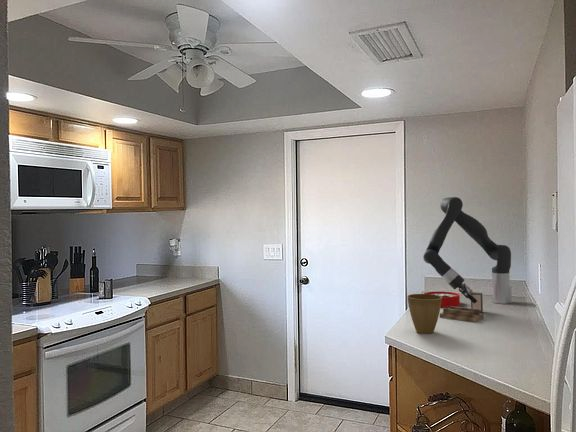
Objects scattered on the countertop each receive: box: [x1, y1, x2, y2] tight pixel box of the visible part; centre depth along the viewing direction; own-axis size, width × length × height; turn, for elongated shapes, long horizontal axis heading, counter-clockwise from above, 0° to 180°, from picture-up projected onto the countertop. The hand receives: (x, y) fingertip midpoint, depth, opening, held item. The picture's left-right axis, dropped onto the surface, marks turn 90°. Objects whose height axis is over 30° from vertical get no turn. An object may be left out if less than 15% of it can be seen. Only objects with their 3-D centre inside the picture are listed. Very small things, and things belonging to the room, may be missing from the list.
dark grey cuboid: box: [470, 292, 484, 314], centre depth 249 cm, size 6×4×10 cm, turn 64°
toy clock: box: [423, 291, 461, 308], centre depth 273 cm, size 20×6×20 cm
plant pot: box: [407, 293, 442, 335], centre depth 212 cm, size 15×15×16 cm
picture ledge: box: [439, 306, 484, 323], centre depth 236 cm, size 18×10×4 cm, turn 44°
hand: (476, 300), depth 249 cm, fingers open, 8 cm apart
